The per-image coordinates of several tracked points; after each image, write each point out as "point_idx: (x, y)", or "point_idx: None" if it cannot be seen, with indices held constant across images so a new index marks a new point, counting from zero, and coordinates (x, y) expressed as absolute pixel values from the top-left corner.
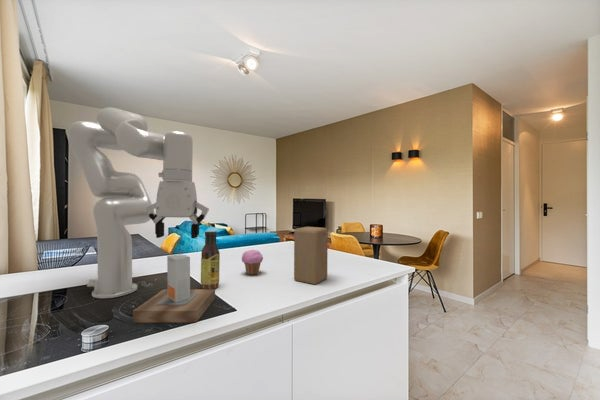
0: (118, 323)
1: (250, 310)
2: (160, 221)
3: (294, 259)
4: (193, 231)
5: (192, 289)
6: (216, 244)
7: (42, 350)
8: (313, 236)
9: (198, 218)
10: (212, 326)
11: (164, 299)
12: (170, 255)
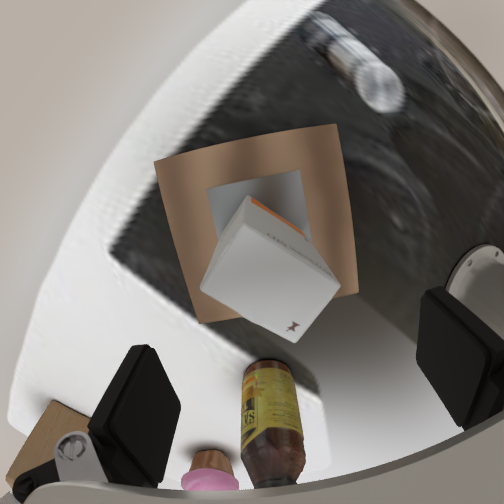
0: (358, 119)
1: (82, 258)
2: (492, 402)
3: None
4: (113, 377)
5: None
6: (253, 484)
7: (394, 16)
8: (13, 471)
9: (52, 480)
10: (116, 155)
11: (300, 211)
12: (328, 294)
